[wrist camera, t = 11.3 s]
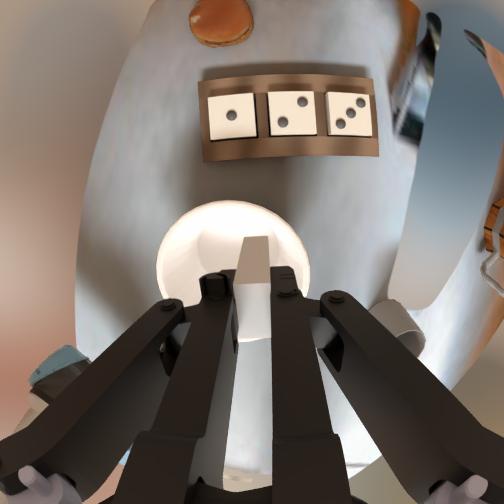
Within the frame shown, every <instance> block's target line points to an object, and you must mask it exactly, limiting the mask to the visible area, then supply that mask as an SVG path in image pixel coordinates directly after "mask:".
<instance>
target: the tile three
mask: <svg viewBox="0 0 504 504" xmlns="http://www.w3.org/2000/svg"><path fill="white" fill-rule="evenodd" d="M324 103H325V114H326V128H327V135H328V136H360V137H365V136H372V124H371V111H370V101H369V95H366V94H355V93H341V92H327V93H326V94H325V95H324Z"/></svg>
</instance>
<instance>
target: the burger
mask: <svg viewBox="0 0 504 504" xmlns="http://www.w3.org/2000/svg"><path fill="white" fill-rule="evenodd" d="M189 22H190V29H191V31H192V33H193V34H194V36H195V38H196V39H197V40H198V41H199V42H201V43H202V44H204V45H206V46H210V47H218V46H222V47H223V46H231V45H234V44H237V43H239V42H243V41H245V40H246V39H247V38H248V37H249V36H250V34H251V33H252V30H253V27H254V23H253V17H252V14H251V11H250V8H249V6H248V4H247V3H246V2H245V0H201V1H199V2H198V3H197V4H196V5H195V8H194V9H193V10H192V11H191V13H190V15H189Z"/></svg>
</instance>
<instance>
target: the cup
mask: <svg viewBox="0 0 504 504" xmlns="http://www.w3.org/2000/svg"><path fill="white" fill-rule="evenodd" d="M369 312H370V313H371V314H372V315H373V316H374V317H375V318H376V319H377V320H378V321H379V322H380V323H381V324H382V325H383V326H385V327H386V328H387V329H388V330H389V331H390V332H391V333H392V334H393V335H394V336H395V337H396V338H397V339H398V340H399V341H400V342H401V343H402V344H403V345H404V346H405V347H406V348H407V349H408V350H409V351H410V352H411V353H412V354H413V355H414V356H415V357H416V358H418V357H419V356H420V354H421V353H422V351H423V349H424V347H425V342H426V339H425V336H424V334H423V332H422V331H421V329H420V328H419V327H418V326H417V324H416V323H415V322H414V320H413V319H412V318H411V316H410V315H409V314H408V312H407V311H406V310H405V309H404V307H403V306H402V305H401V304H400V303H399V302H397V301H396V300H394V299H393V300H383V301H381V302H379V303H376V304H375V305H374V306H373V307H372V308H371V309H370V310H369Z"/></svg>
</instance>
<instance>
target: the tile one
mask: <svg viewBox="0 0 504 504" xmlns="http://www.w3.org/2000/svg"><path fill="white" fill-rule="evenodd" d="M208 109H209V123H210V137H211V140H214V141H219V140H229V139H241V138H254V137H257V134H256V121H255V107H254V96H253V93H246V94H235V95H225V96H216V97H209V98H208Z"/></svg>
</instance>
